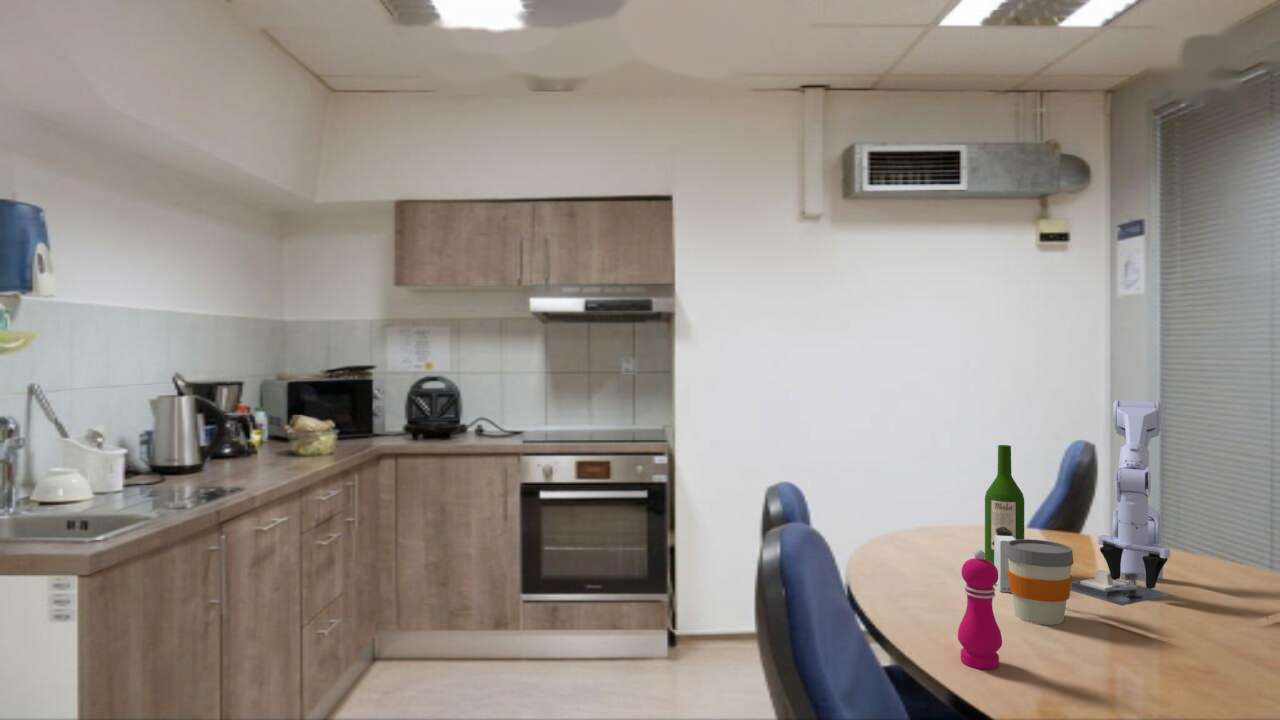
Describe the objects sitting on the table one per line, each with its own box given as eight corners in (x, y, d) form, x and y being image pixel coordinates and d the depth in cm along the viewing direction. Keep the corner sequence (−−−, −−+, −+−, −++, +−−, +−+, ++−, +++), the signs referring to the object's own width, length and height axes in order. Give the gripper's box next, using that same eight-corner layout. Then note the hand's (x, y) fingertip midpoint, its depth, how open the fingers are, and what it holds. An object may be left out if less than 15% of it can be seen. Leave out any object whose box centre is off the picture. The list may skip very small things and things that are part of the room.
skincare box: (1019, 593, 176) (1020, 541, 176) (1000, 592, 177) (1000, 540, 177) (1012, 585, 182) (1012, 535, 182) (993, 584, 183) (993, 534, 183)
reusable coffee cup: (1047, 632, 151) (1048, 556, 151) (992, 613, 162) (992, 542, 162) (1087, 622, 157) (1087, 549, 157) (1031, 604, 168) (1031, 536, 168)
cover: (1102, 582, 181) (1102, 566, 181) (1127, 589, 176) (1127, 573, 176) (1080, 586, 178) (1080, 570, 178) (1105, 593, 172) (1105, 577, 172)
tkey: (1111, 593, 171) (1111, 572, 171) (1140, 592, 172) (1140, 571, 172) (1116, 595, 169) (1116, 574, 169) (1145, 594, 170) (1145, 573, 170)
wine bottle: (985, 578, 188) (985, 446, 188) (984, 569, 196) (984, 443, 196) (1026, 582, 185) (1026, 448, 185) (1022, 573, 193) (1022, 444, 193)
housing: (1103, 581, 186) (1103, 573, 186) (1173, 600, 171) (1173, 591, 171) (1053, 590, 178) (1053, 582, 178) (1121, 610, 164) (1121, 601, 164)
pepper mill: (950, 655, 139) (950, 545, 139) (988, 654, 139) (988, 544, 139) (970, 671, 132) (970, 555, 132) (1010, 670, 132) (1010, 554, 132)
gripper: (1090, 518, 175) (1090, 577, 175) (1156, 530, 162) (1156, 594, 162) (1109, 515, 178) (1109, 573, 178) (1175, 527, 165) (1175, 590, 165)
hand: (1132, 583), depth 171 cm, fingers open, 7 cm apart
